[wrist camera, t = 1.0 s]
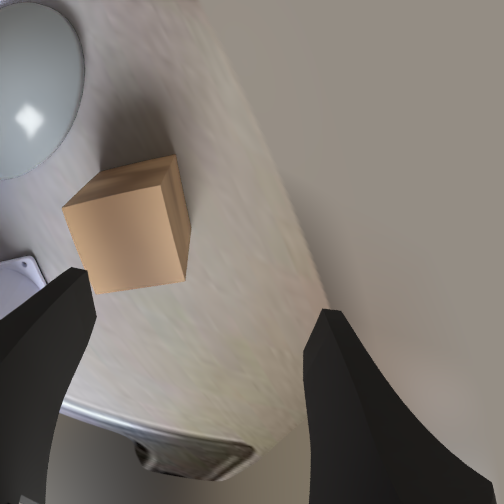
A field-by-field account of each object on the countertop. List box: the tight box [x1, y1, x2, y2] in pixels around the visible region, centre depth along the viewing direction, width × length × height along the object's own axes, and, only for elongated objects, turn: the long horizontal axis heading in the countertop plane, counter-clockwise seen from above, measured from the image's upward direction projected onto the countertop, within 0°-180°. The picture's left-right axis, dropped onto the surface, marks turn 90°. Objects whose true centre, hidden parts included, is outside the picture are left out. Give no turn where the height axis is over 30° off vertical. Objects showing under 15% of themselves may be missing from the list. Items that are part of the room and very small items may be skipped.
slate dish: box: [0, 2, 84, 180], centre depth 14 cm, size 12×12×1 cm
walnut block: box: [62, 154, 191, 294], centre depth 17 cm, size 5×5×6 cm
